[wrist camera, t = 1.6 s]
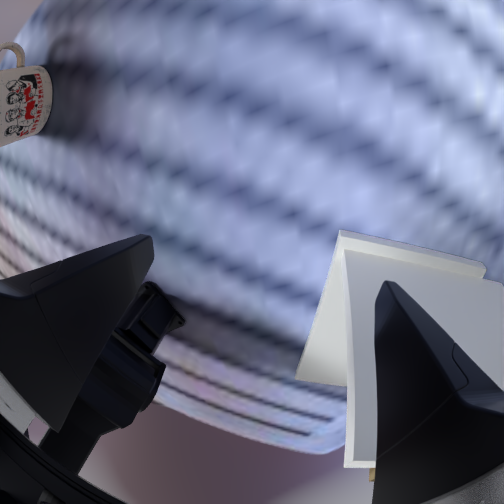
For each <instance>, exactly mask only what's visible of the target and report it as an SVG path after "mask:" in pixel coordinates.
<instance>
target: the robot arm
mask: <svg viewBox="0 0 504 504" xmlns="http://www.w3.org/2000/svg"><path fill="white" fill-rule="evenodd" d="M153 260H154V249H153V240H152V237H151V236H149V235H145V234H139V235H136V236H133V237H130V238H127V239H123V240H120V241H117V242H114V243H111V244H108V245H105V246H102V247H99V248H96V249H93V250H90V251H87V252H84V253H81V254H78V255H75V256H72V257H69V258H66V259H64V260H62V261H58V262H55V263H52V264H49V265H46V266H44V267H41V268H38V269H34V270H31V271H28V272H25V273H22V274H19V275H15V276H12V277H9V278H6V279H2V280H0V504H129V503H127V502H125V501H123V500H121V499H119V498H117V497H115V496H113V495H111V494H109V493H107V492H105V491H104V490H102V489H100V488H98V487H97V486H95V485H93V484H92V483H90V482H88V481H86V480H85V479H83V478H82V477H80V476H78V473H79V472H80V470H81V468H82V466H83V465H84V463H85V461H86V460H87V458H88V456H89V455H90V453H91V451H92V450H93V448H94V446H95V445H96V443H97V441H98V440H99V438H100V437H101V435H104V434H106V433H109V432H111V431H113V430H116V429H118V428H121V429H122V428H125V427H127V426H128V425H130V424H131V423H132V422H133V420H134V418H135V416H136V415H137V413H138V412H142V411H144V410H145V409H146V408H147V407H148V405H149V404H150V403H151V401H152V400H153V398H154V397H155V395H156V393H157V390H158V387H159V385H160V382H161V379H162V376H163V373H164V371H165V368H166V364H164V363H163V362H160V361H159V360H158V359H156V358H155V357H154V356H153V355H154V353H155V351H156V349H157V348H158V346H159V344H160V343H161V341H162V339H163V338H164V336H165V334H166V333H167V332H169V331H172V330H174V329H177V328H179V327H181V326H183V325H184V324H185V320H184V319H183V318H182V316H181V315H180V314H179V313H178V312H177V311H176V310H175V309H174V308H173V307H172V306H171V305H170V304H169V303H168V302H167V301H166V299H165V298H164V297H163V296H162V295H161V294H160V293H159V292H158V291H157V290H156V288H155V287H154V286H153V285H152V284H151V283H150V282H145V283H143V284H142V282H143V280H144V278H145V276H146V274H147V272H148V270H149V268H150V267H151V265H152V263H153ZM141 284H142V285H141ZM374 350H375V364H376V384H377V449H376V465H375V479H374V490H373V499H372V504H504V391H503V390H502V389H501V388H500V387H499V386H498V385H497V384H496V383H495V382H494V381H493V380H492V379H491V378H490V377H489V376H488V375H487V374H486V373H485V372H484V371H483V370H482V369H481V368H480V367H479V366H478V365H477V364H476V363H475V362H474V361H473V360H472V359H471V358H470V357H469V356H468V355H467V354H466V353H465V352H464V351H463V350H462V348H461V347H460V346H459V345H458V344H457V343H456V342H455V343H454V340H453V339H452V338H451V337H450V336H449V335H448V333H447V332H446V331H445V330H444V329H443V328H442V327H441V326H440V325H439V324H438V323H437V322H436V321H435V320H434V319H433V318H432V317H431V316H430V315H429V314H428V313H427V312H426V311H425V310H424V309H423V308H422V307H421V306H420V305H419V304H418V303H417V302H416V301H415V300H414V299H413V298H412V297H411V296H410V295H409V294H408V293H407V292H406V291H405V290H404V289H403V288H401V287H400V286H399V285H398V284H397V283H396V282H394V281H388V280H385V281H384V282H383V283H382V286H381V288H380V291H379V293H378V295H377V298H376V301H375V324H374ZM35 416H36V417H37V418H39V419H40V420H41V421H43V422H44V423H45V424H46V425H48V426H49V428H48V429H47V431H46V432H45V434H44V436H43V437H42V439H41V441H40V442H39V444H38V445H36V444H34V443H33V442H32V441H31V440H30V439H29V435H28V426H29V425H30V423H31V421H32V420H33V419H34V417H35Z"/></svg>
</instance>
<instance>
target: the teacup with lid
mask: <svg viewBox="0 0 504 504" xmlns="http://www.w3.org/2000/svg"><path fill="white" fill-rule="evenodd" d="M2 49H10V50H12V51H13V52H14V53H15V54H16V57H17V68H12V69H6V70H0V147H2V146H5V145H7V144H10V143H13V142H15V141H18V140H21V139H24V138H27V137H30V136H33V135H35V134H37V133H38V132H39V131H40V130H41V129H42V128H43V127H44V125H45V123H46V122H47V119H48V117H49V114H50V110H51V105H52V94H53V92H52V83H51V79H50V76H49V74H48V72H47V71H46V69H45V68H43V67H41V66H28V67H24V65H25V53H24V50H23V49H22V47H21V46H20V45H18V44H17V43H14V42H6V43H3V44H1V45H0V51H1V50H2Z"/></svg>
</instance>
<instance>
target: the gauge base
mask: <svg viewBox="0 0 504 504" xmlns="http://www.w3.org/2000/svg"><path fill="white" fill-rule="evenodd" d="M486 270H487V269H486V268H485V266H484V265H483V264H482V262H478V261H474V260H470V259H467V258H463V257H459V256H455V255H451V254H447V253H443V252H439V251H435V250H431V249H427V248H423V247H418V246H414V245H410V244H405V243H401V242H397V241H392V240H388V239H383V238H379V237H374V236H370V235H365V234H360V233H355V232H351V231H346V230H341V229H340V230H339V234H338V238H337V242H336V246H335V250H334V253H333V257H332V261H331V264H330V268H329V271H328V275H327V278H326V282H325V285H324V288H323V292H322V295H321V298H320V302H319V305H318V308H317V311H316V314H315V317H314V320H313V324H312V327H311V330H310V333H309V335H308V338H307V341H306V344H305V347H304V350H303V353H302V356H301V358H300V361H299V364H298V367H297V369H296V373H295V379H296V380H302V381H308V382H314V383H321V384H328V385H336V386H344V387H347V422H346V442H345V459H344V467H345V468H346V467H347V468H375V465H376V449H377V384H376V364H375V350H374V324H375V301H376V298H377V295H378V293H379V291H380V288H381V286H382V283H383V282H384V281H385V280H388V281H394V282H396V283H397V284H398V285H399V286H400V287H401V288H403V289H404V290H405V291H406V292H407V293H408V294H409V295H410V296H411V297H412V298H413V299H414V300H415V301H416V302H417V303H418V304H419V305H420V306H421V307H422V308H423V309H424V310H425V311H426V312H427V313H428V314H429V315H430V316H431V317H432V318H433V319H434V320H435V321H436V322H437V323H438V324H439V325H440V326H441V327H442V328H443V329H444V330H445V331H446V332H447V333H448V335H449V336H450V337H451V338H452V339H453V340H454V343H455V342H456V343H457V344H458V345H459V346H460V347H461V348H462V350H463V351H464V352H465V353H466V354H467V355H468V356H469V357H470V358H471V359H472V360H473V361H474V362H475V363H476V364H477V365H478V366H479V367H480V368H481V369H482V370H483V371H484V372H485V373H486V374H487V375H488V376H489V377H490V378H491V379H492V380H493V381H494V382H495V383H496V384H497V385H498V386H499V387H500V388H501V389H502V390H503V391H504V286H503V285H502V283H500V282H495V281H491V280H487V279H483V276H484V274H485V272H486Z"/></svg>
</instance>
